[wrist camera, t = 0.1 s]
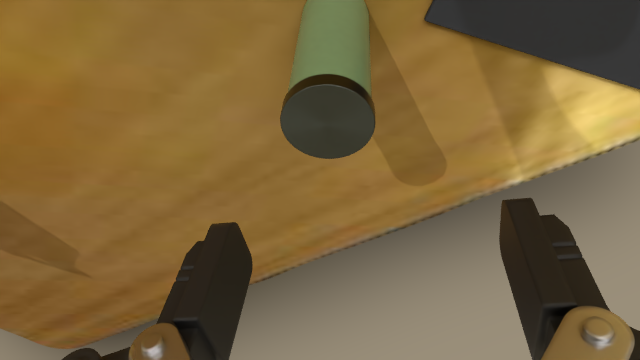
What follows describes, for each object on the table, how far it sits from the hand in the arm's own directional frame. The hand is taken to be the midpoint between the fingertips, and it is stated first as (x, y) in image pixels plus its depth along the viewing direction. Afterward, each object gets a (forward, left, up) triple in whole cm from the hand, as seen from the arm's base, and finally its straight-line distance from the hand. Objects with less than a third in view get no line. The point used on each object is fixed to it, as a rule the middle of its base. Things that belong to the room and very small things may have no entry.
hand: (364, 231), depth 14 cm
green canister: (+5, 0, -22) cm, 23 cm away
